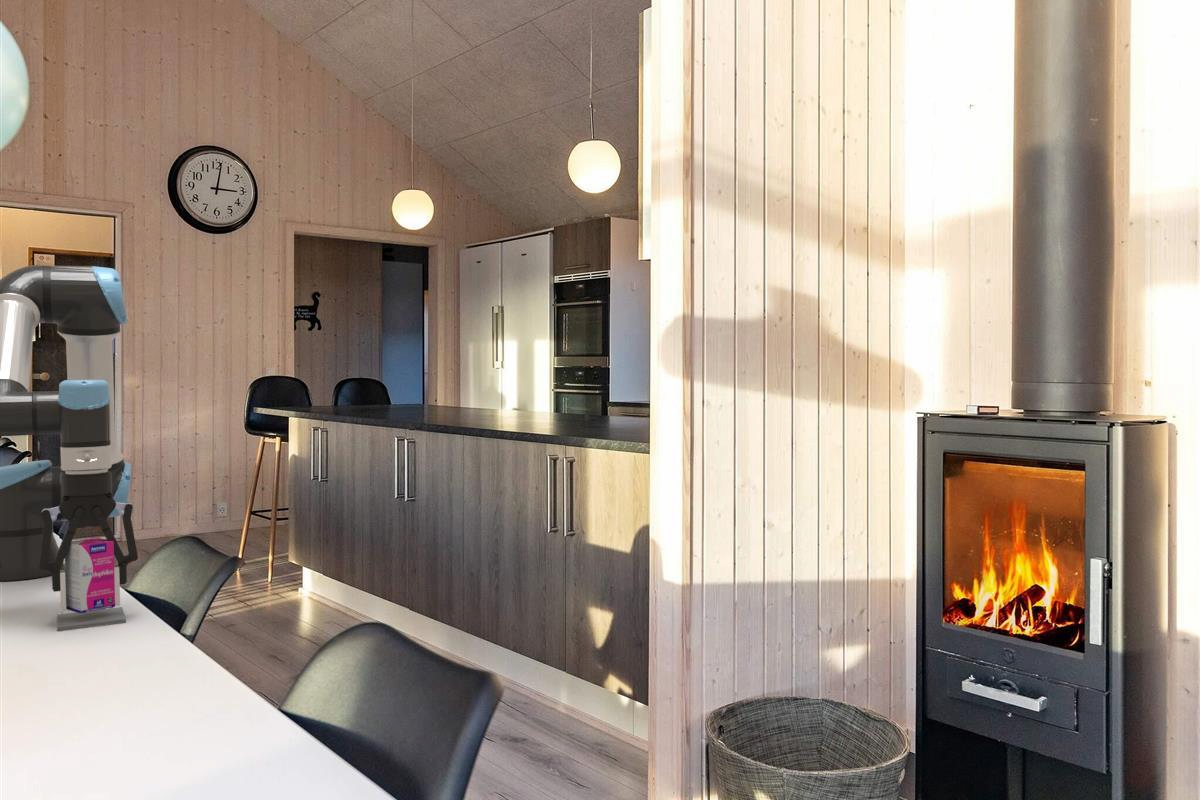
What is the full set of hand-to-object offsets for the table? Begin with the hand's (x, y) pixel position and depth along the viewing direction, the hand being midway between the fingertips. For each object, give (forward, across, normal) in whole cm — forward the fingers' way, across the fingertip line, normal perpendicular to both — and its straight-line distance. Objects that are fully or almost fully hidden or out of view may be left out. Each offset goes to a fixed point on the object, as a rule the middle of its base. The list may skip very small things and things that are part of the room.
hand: (90, 606), depth 165 cm
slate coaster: (+2, 0, 0) cm, 2 cm away
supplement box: (+1, 0, 0) cm, 1 cm away
